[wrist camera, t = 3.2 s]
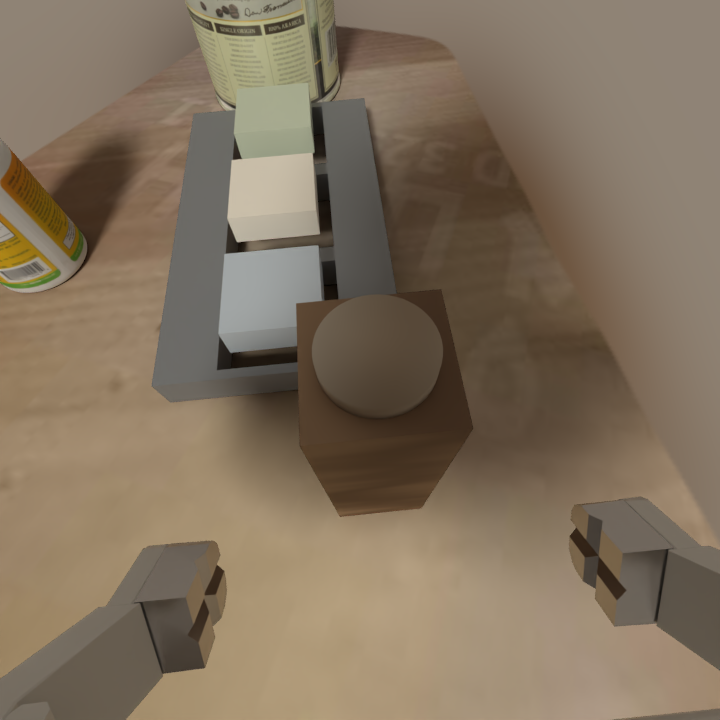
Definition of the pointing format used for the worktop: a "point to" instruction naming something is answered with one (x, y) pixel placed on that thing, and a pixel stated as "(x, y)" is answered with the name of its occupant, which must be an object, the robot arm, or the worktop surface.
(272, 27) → the coffee can
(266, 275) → the key
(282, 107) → the key
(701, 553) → the robot arm
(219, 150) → the keypad
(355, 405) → the wooden pepper mill
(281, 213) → the key mid
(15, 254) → the supplement bottle
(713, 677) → the worktop surface
